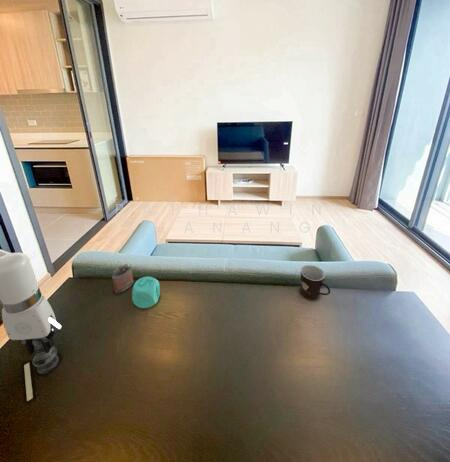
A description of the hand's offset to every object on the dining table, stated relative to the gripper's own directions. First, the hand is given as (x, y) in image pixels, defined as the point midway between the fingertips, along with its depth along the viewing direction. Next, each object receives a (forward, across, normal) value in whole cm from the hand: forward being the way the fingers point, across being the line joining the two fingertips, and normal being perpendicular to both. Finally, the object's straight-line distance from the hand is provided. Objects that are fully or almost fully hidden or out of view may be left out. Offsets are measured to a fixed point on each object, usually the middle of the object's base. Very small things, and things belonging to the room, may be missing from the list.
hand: (42, 348), depth 69 cm
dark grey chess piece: (+7, 0, 0) cm, 7 cm away
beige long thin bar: (+7, -3, -4) cm, 8 cm away
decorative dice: (+7, +24, +22) cm, 33 cm away
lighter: (+7, +13, +30) cm, 33 cm away
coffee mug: (+6, +87, +17) cm, 89 cm away
